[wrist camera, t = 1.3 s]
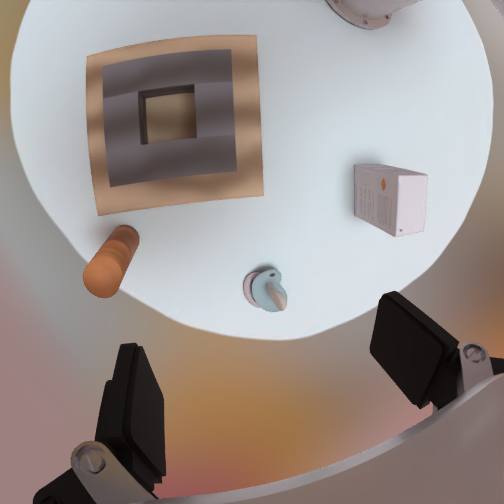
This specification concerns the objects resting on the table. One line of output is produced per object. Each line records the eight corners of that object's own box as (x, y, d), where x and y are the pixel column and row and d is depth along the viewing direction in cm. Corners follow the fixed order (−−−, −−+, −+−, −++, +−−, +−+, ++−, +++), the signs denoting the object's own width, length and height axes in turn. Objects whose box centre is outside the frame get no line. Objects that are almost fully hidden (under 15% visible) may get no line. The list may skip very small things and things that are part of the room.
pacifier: (251, 311, 44) (286, 298, 44) (258, 336, 38) (298, 321, 38) (236, 273, 41) (275, 259, 41) (242, 295, 35) (287, 279, 35)
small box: (381, 212, 41) (424, 233, 32) (353, 215, 41) (395, 239, 31) (382, 163, 38) (429, 174, 29) (353, 164, 37) (398, 174, 28)
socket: (89, 58, 24) (73, 46, 19) (254, 37, 28) (265, 21, 23) (100, 214, 33) (85, 227, 27) (261, 194, 37) (274, 204, 31)
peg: (109, 227, 34) (78, 264, 23) (136, 223, 35) (113, 259, 24) (115, 254, 35) (89, 299, 25) (141, 251, 36) (123, 296, 25)
